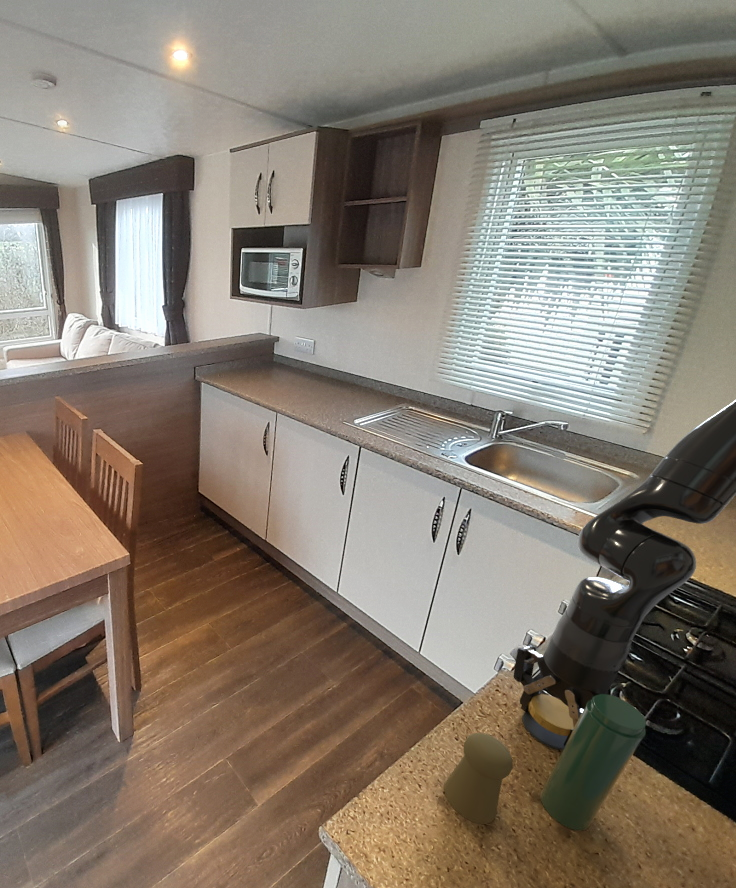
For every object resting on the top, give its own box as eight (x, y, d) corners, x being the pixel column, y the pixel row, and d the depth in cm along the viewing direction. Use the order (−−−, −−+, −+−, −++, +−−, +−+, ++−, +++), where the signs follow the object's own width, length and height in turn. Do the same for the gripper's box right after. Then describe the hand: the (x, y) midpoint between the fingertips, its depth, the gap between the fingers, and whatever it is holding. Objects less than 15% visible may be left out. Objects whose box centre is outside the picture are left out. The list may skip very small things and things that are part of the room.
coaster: (558, 714, 76) (559, 712, 76) (584, 754, 71) (585, 751, 70) (514, 708, 78) (515, 706, 77) (535, 746, 72) (536, 744, 72)
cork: (499, 797, 66) (524, 745, 61) (491, 835, 61) (516, 781, 57) (449, 767, 69) (469, 715, 65) (438, 800, 65) (458, 748, 61)
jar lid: (540, 732, 71) (544, 725, 71) (520, 697, 76) (523, 691, 76) (586, 739, 70) (589, 732, 69) (562, 703, 75) (565, 697, 75)
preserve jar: (574, 792, 66) (628, 695, 58) (599, 834, 61) (662, 735, 54) (532, 784, 67) (580, 688, 59) (553, 826, 62) (608, 727, 54)
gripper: (516, 618, 72) (486, 695, 79) (631, 697, 60) (583, 781, 67) (551, 606, 75) (518, 682, 81) (668, 680, 62) (618, 763, 69)
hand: (548, 726), depth 74 cm, fingers closed on jar lid, 5 cm apart
